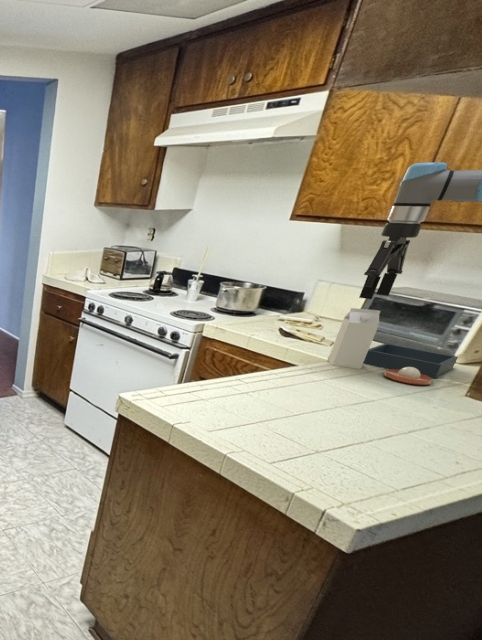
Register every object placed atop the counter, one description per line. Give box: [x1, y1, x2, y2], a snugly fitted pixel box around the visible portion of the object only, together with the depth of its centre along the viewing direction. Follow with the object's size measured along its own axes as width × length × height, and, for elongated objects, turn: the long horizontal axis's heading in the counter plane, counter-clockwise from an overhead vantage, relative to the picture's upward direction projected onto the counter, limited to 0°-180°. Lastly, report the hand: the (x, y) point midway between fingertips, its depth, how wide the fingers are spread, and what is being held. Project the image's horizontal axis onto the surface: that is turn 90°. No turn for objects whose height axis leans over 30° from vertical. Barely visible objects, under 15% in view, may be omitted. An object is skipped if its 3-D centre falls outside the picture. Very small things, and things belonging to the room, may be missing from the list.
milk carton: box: [327, 307, 381, 370], centre depth 153 cm, size 7×7×19 cm
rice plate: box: [383, 367, 433, 386], centre depth 142 cm, size 10×10×5 cm
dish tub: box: [362, 342, 459, 380], centre depth 155 cm, size 18×18×5 cm
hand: (373, 296), depth 142 cm, fingers open, 13 cm apart
